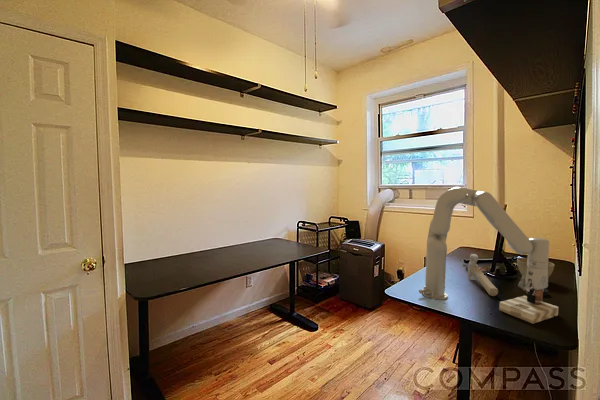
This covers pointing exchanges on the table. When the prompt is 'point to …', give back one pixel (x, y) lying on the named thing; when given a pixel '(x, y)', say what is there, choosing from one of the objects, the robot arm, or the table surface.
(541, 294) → the peg
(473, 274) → the hammer
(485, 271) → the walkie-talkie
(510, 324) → the table surface
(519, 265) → the white bowl
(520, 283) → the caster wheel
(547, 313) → the board
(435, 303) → the table surface
